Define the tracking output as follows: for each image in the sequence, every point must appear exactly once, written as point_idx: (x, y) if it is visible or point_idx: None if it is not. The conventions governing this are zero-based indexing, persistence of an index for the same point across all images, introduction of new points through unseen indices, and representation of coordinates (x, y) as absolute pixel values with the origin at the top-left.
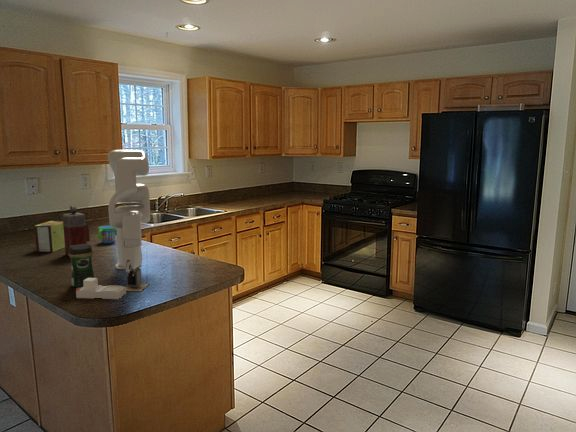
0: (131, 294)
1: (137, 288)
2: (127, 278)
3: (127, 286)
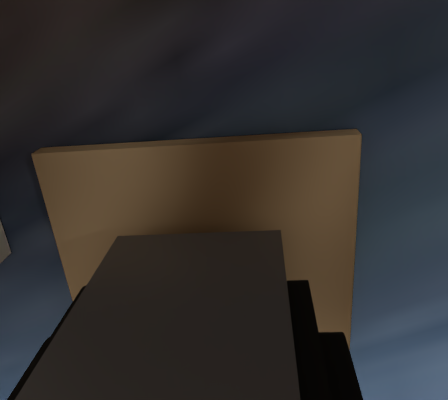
0: (10, 315)
1: None
2: (58, 339)
3: (218, 176)
